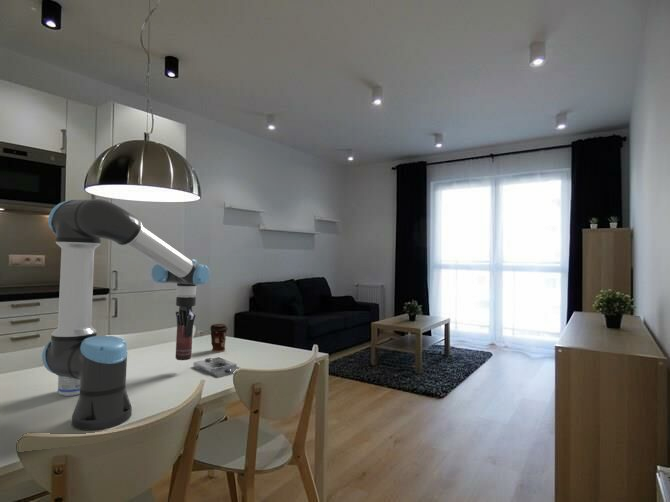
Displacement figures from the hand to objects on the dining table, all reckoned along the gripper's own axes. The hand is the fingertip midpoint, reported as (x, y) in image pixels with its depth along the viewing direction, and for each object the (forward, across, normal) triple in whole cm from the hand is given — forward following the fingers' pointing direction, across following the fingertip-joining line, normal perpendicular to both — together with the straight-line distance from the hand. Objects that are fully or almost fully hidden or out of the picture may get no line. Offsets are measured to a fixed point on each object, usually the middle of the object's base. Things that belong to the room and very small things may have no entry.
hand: (183, 353), depth 161 cm
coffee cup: (+7, +22, -29) cm, 37 cm away
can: (+2, 0, 0) cm, 2 cm away
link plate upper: (+7, -3, -13) cm, 15 cm away
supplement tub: (+9, +3, +37) cm, 38 cm away
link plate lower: (+7, -8, -13) cm, 17 cm away
